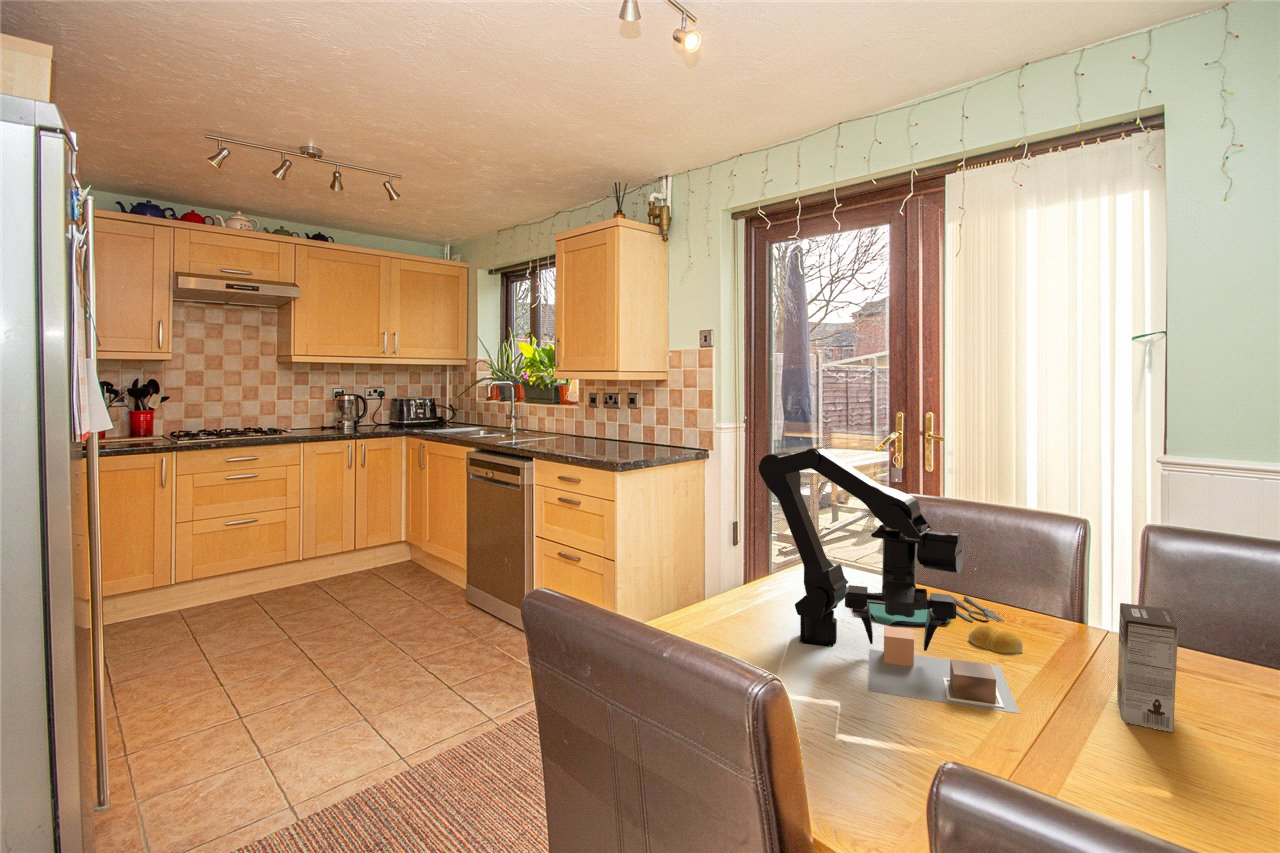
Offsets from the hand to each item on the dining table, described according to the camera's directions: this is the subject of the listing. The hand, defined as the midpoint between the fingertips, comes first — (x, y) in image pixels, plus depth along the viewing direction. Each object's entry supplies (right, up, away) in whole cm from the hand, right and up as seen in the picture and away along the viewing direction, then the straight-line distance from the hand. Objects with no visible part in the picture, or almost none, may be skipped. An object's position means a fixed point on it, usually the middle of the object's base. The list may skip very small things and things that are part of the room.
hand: (897, 646), depth 118 cm
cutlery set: (+16, -2, +26) cm, 31 cm away
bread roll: (+22, -3, +7) cm, 23 cm away
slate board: (+4, -3, -8) cm, 9 cm away
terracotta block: (0, -2, 0) cm, 2 cm away
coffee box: (+30, -4, -20) cm, 36 cm away
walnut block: (+7, -3, -13) cm, 15 cm away
